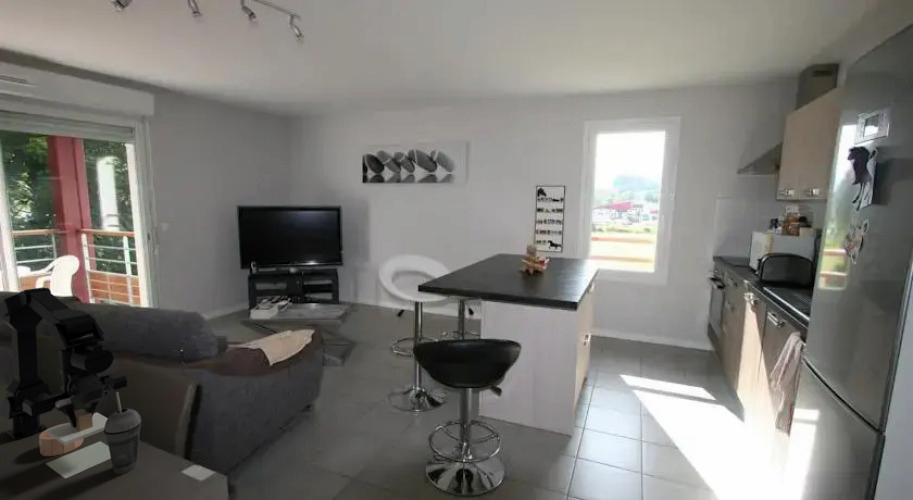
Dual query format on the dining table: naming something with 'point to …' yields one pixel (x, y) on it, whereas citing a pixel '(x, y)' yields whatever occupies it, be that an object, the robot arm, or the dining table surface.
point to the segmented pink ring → (55, 444)
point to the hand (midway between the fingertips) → (81, 424)
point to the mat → (81, 459)
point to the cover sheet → (74, 434)
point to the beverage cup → (123, 438)
